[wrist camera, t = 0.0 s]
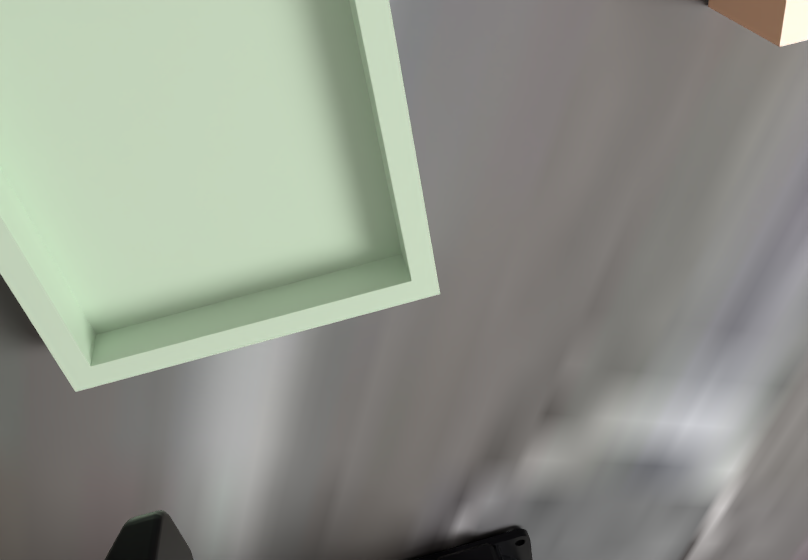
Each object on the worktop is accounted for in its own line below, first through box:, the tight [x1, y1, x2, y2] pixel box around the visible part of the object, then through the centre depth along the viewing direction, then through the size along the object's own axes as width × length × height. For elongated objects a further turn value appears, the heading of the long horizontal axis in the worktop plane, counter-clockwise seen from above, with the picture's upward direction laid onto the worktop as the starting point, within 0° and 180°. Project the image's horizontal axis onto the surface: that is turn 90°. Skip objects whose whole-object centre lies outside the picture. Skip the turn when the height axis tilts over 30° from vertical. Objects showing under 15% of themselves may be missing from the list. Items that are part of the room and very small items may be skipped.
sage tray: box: [0, 0, 440, 392], centre depth 19 cm, size 16×12×2 cm
